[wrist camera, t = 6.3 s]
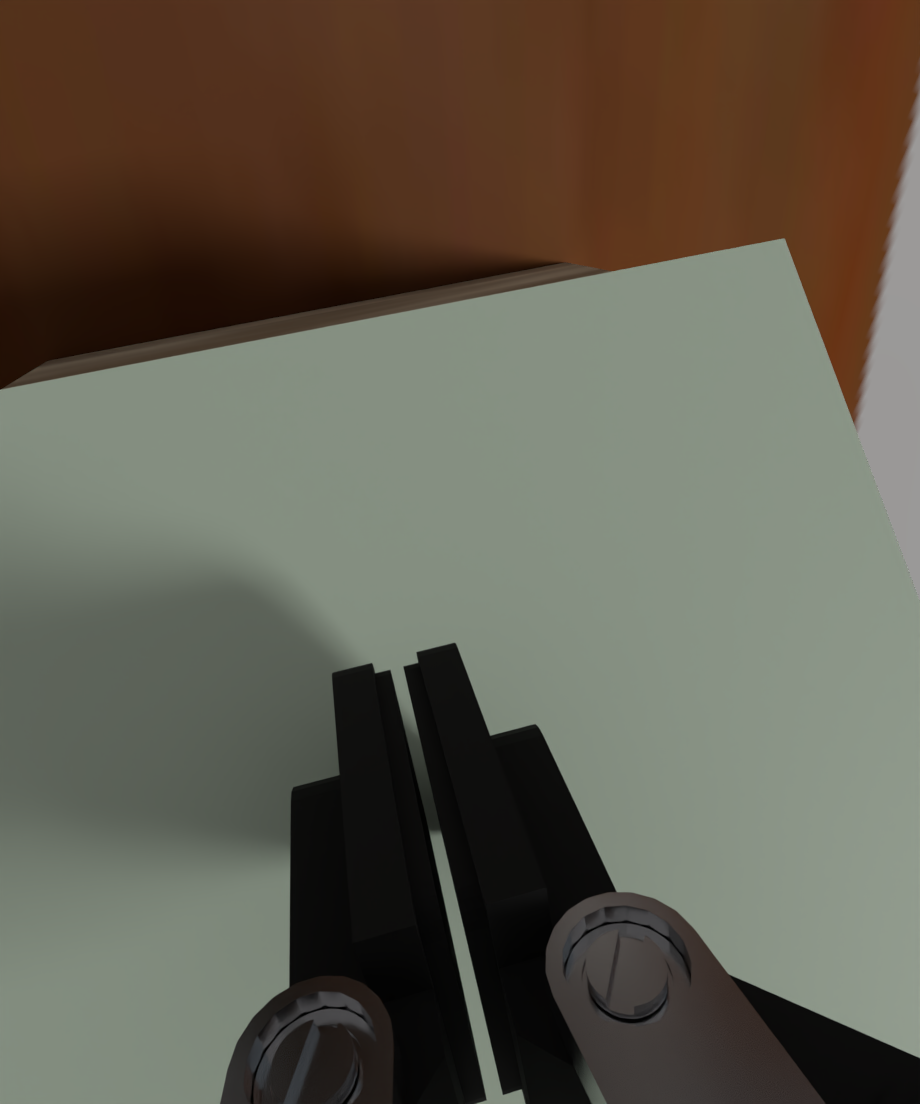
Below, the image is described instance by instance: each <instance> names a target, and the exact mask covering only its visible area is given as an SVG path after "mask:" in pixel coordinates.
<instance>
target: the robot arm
mask: <svg viewBox="0 0 920 1104" xmlns="http://www.w3.org/2000/svg"><path fill="white" fill-rule="evenodd" d="M416 654H417V659H418V663H415V664H411V665H407V666H403V668H404V672H405V677H406V681H407V685H408V690H409V694H410V698H411V703H412V707H413V711H414V716H415V720H416V724H417V729H418V733H419V738H420V742H421V746H422V751H423V755H424V759H425V764H426V768H427V772H428V777H429V781H430V785H431V790H432V794H433V798H434V803H435V807H436V811H437V816H438V820H439V824H440V829H441V833H442V837H443V842H444V846H445V850H446V854H447V859H448V863H449V867H450V872H451V876H452V880H453V884H454V889H455V893H456V897H457V901H458V906H459V910H460V914H461V919H462V923H463V927H464V931H465V936H466V940H467V944H468V948H469V953H470V957H471V961H472V966H473V970H474V974H475V978H476V983H477V987H478V991H479V995H480V1000H481V1004H482V1008H483V1013H484V1017H485V1021H486V1025H487V1030H488V1034H489V1038H490V1043H491V1047H492V1051H493V1055H494V1060H495V1064H496V1068H497V1072H498V1077H499V1081H500V1085H501V1089H502V1094H503V1095H505V1094H508V1093H511V1092H515V1091H518V1090H521V1089H522V1092H523V1096H524V1100H525V1104H920V1058H919V1057H916V1056H914V1055H912V1054H910V1053H907V1052H905V1051H903V1050H900V1049H898V1048H896V1047H894V1046H891V1045H889V1044H887V1043H884V1042H882V1041H880V1040H878V1039H875V1038H873V1037H871V1036H868V1035H866V1034H864V1033H862V1032H859V1031H857V1030H855V1029H853V1028H850V1027H848V1026H846V1025H843V1024H841V1023H839V1022H837V1021H834V1020H832V1019H830V1018H827V1017H825V1016H823V1015H821V1014H818V1013H816V1012H814V1011H811V1010H809V1009H807V1008H805V1007H802V1006H800V1005H798V1004H795V1003H793V1002H791V1001H789V1000H786V999H784V998H782V997H780V996H777V995H775V994H773V993H770V992H768V991H766V990H764V989H761V988H759V987H757V986H754V985H752V984H750V983H748V982H745V981H743V980H741V979H738V978H736V977H734V976H732V975H729V974H728V973H727V972H726V970H725V969H724V968H723V966H722V965H721V964H720V962H719V961H718V960H717V958H716V957H715V956H714V954H713V953H712V952H711V950H710V949H709V948H708V946H707V945H706V944H705V942H704V941H703V940H702V938H701V937H700V936H699V934H698V933H697V932H696V930H695V929H694V928H693V927H692V926H691V925H690V924H689V923H688V922H687V921H686V920H685V919H684V918H683V917H682V916H681V915H680V914H679V913H678V912H677V911H676V910H674V909H672V908H671V907H669V906H667V905H665V904H664V903H662V902H660V901H658V900H657V899H655V898H651V897H647V896H644V895H640V894H636V893H632V892H617V891H616V889H615V887H614V885H613V883H612V881H611V878H610V876H609V874H608V872H607V870H606V868H605V866H604V864H603V861H602V859H601V857H600V855H599V853H598V851H597V849H596V847H595V844H594V842H593V840H592V838H591V836H590V834H589V832H588V830H587V827H586V825H585V823H584V821H583V819H582V817H581V815H580V812H579V810H578V808H577V806H576V804H575V802H574V800H573V798H572V795H571V793H570V791H569V789H568V787H567V785H566V783H565V781H564V778H563V776H562V774H561V772H560V770H559V768H558V766H557V764H556V761H555V759H554V757H553V755H552V753H551V751H550V749H549V747H548V744H547V742H546V740H545V738H544V736H543V734H542V732H541V730H540V728H539V727H538V726H537V725H536V724H533V725H529V726H525V727H521V728H518V729H514V730H510V731H506V732H502V733H498V734H495V735H491V736H490V734H489V731H488V728H487V725H486V723H485V720H484V717H483V715H482V712H481V709H480V707H479V704H478V701H477V698H476V696H475V693H474V690H473V688H472V685H471V682H470V679H469V677H468V674H467V671H466V669H465V666H464V663H463V660H462V658H461V655H460V652H459V650H458V647H457V645H456V643H451V644H447V645H443V646H439V647H435V648H431V649H426V650H422V651H418V652H416ZM332 686H333V698H334V711H335V724H336V737H337V750H338V763H339V775H338V776H334V777H330V778H326V779H322V780H319V781H315V782H311V783H307V784H303V785H299V786H296V787H293V789H292V792H291V823H290V954H289V988H288V989H286V990H284V991H283V992H281V993H279V994H278V995H276V996H274V997H273V998H272V999H271V1000H270V1001H269V1002H268V1003H267V1004H266V1005H265V1006H264V1007H263V1008H262V1009H261V1010H260V1011H259V1012H258V1013H257V1014H256V1015H255V1016H254V1017H253V1018H252V1019H251V1021H250V1023H249V1024H248V1026H247V1027H246V1029H245V1030H244V1032H243V1033H242V1035H241V1036H240V1038H239V1040H238V1041H237V1043H236V1046H235V1049H234V1052H233V1055H232V1058H231V1061H230V1063H229V1066H228V1069H227V1073H226V1078H225V1083H224V1087H223V1092H222V1097H221V1101H220V1104H477V1103H480V1102H483V1101H486V1100H487V1099H486V1093H485V1089H484V1084H483V1079H482V1075H481V1070H480V1065H479V1061H478V1056H477V1051H476V1047H475V1042H474V1037H473V1033H472V1028H471V1023H470V1019H469V1014H468V1009H467V1005H466V1000H465V995H464V991H463V986H462V981H461V977H460V972H459V968H458V963H457V958H456V954H455V949H454V944H453V940H452V935H451V930H450V926H449V921H448V916H447V912H446V907H445V902H444V898H443V893H442V888H441V884H440V879H439V874H438V870H437V865H436V860H435V856H434V851H433V846H432V842H431V837H430V833H429V828H428V824H427V820H426V815H425V811H424V807H423V803H422V799H421V795H420V790H419V786H418V782H417V778H416V774H415V770H414V765H413V761H412V757H411V753H410V749H409V745H408V740H407V736H406V732H405V728H404V724H403V720H402V715H401V711H400V707H399V703H398V699H397V695H396V690H395V686H394V682H393V678H392V674H391V670H387V671H382V672H378V673H375V670H374V667H373V664H372V663H369V664H365V665H361V666H357V667H353V668H349V669H345V670H341V671H337V672H333V673H332Z"/></svg>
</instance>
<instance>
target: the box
mask: <svg viewBox="0 0 920 1104" xmlns="http://www.w3.org/2000/svg"><path fill="white" fill-rule="evenodd" d="M608 272H612V271H607V270H602V269H597V268H592V267H587V266H581V265H576V264H571V263H566V262H565V263H560V264H555V265H550V266H544V267H539V268H534V269H529V270H523V271H518V272H513V273H508V274H502V275H497V276H492V277H487V278H481V279H476V280H471V281H465V282H460V283H455V284H450V285H444V286H439V287H434V288H429V289H423V290H418V291H413V292H408V293H402V294H397V295H392V296H387V297H381V298H376V299H371V300H366V301H360V302H355V303H350V304H344V305H339V306H334V307H329V308H323V309H318V310H313V311H308V312H302V313H297V314H292V315H287V316H281V317H276V318H271V319H266V320H260V321H255V322H250V323H245V324H239V325H234V326H229V327H223V328H218V329H213V330H208V331H202V332H197V333H192V334H187V335H181V336H176V337H171V338H166V339H160V340H155V341H150V342H145V343H139V344H134V345H129V346H123V347H118V348H113V349H108V350H102V351H97V352H92V353H87V354H81V355H76V356H71V357H66V358H60V359H55V360H50V361H47V362H45V363H43V364H42V365H40V366H38V367H37V368H35V369H34V370H32V371H30V372H29V373H27V374H25V375H24V376H22V377H20V378H19V379H17V380H16V381H14V382H12V383H11V384H9V385H7V386H6V387H4V388H2V389H7V388H12V387H17V386H22V385H27V384H33V383H38V382H43V381H48V380H53V379H58V378H64V377H69V376H74V375H79V374H84V373H90V372H95V371H100V370H105V369H110V368H115V367H121V366H126V365H131V364H136V363H141V362H147V361H152V360H157V359H162V358H167V357H173V356H178V355H183V354H188V353H193V352H198V351H204V350H209V349H214V348H219V347H224V346H230V345H235V344H240V343H245V342H250V341H255V340H261V339H266V338H271V337H276V336H281V335H287V334H292V333H297V332H302V331H307V330H312V329H318V328H323V327H328V326H333V325H338V324H344V323H349V322H354V321H359V320H364V319H369V318H375V317H380V316H385V315H390V314H395V313H401V312H406V311H411V310H416V309H421V308H426V307H432V306H437V305H442V304H447V303H452V302H458V301H463V300H468V299H473V298H478V297H483V296H489V295H494V294H499V293H504V292H509V291H515V290H520V289H525V288H530V287H535V286H540V285H546V284H551V283H556V282H561V281H566V280H572V279H577V278H582V277H587V276H592V275H597V274H603V273H608Z"/></svg>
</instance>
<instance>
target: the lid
mask: <svg viewBox="0 0 920 1104" xmlns="http://www.w3.org/2000/svg"><path fill="white" fill-rule="evenodd" d="M451 643H456V645H457V647H458V650H459V652H460V655H461V658H462V660H463V663H464V666H465V669H466V671H467V674H468V677H469V679H470V682H471V685H472V688H473V690H474V693H475V696H476V698H477V701H478V704H479V707H480V709H481V712H482V715H483V717H484V720H485V723H486V725H487V728H488V731H489V734H490V736H491V735H495V734H498V733H502V732H506V731H510V730H514V729H518V728H521V727H525V726H529V725H533V724H536V725H537V726H538V727H539V728H540V730H541V732H542V734H543V736H544V738H545V740H546V742H547V744H548V747H549V749H550V751H551V753H552V755H553V757H554V759H555V761H556V764H557V766H558V768H559V770H560V772H561V774H562V776H563V778H564V781H565V783H566V785H567V787H568V789H569V791H570V793H571V795H572V798H573V800H574V802H575V804H576V806H577V808H578V810H579V812H580V815H581V817H582V819H583V821H584V823H585V825H586V827H587V830H588V832H589V834H590V836H591V838H592V840H593V842H594V844H595V847H596V849H597V851H598V853H599V855H600V857H601V859H602V861H603V864H604V866H605V868H606V870H607V872H608V874H609V876H610V878H611V881H612V883H613V885H614V887H615V889H616V891H617V892H632V893H636V894H640V895H644V896H647V897H651V898H655V899H657V900H658V901H660V902H662V903H664V904H665V905H667V906H669V907H671V908H672V909H674V910H676V911H677V912H678V913H679V914H680V915H681V916H682V917H683V918H684V919H685V920H686V921H687V922H688V923H689V924H690V925H691V926H692V927H693V928H694V929H695V930H696V932H697V933H698V934H699V936H700V937H701V938H702V940H703V941H704V942H705V944H706V945H707V946H708V948H709V949H710V950H711V952H712V953H713V954H714V956H715V957H716V958H717V960H718V961H719V962H720V964H721V965H722V966H723V968H724V969H725V970H726V972H727V973H728V974H729V975H732V976H734V977H736V978H738V979H741V980H743V981H745V982H748V983H750V984H752V985H754V986H757V987H759V988H761V989H764V990H766V991H768V992H770V993H773V994H775V995H777V996H780V997H782V998H784V999H786V1000H789V1001H791V1002H793V1003H795V1004H798V1005H800V1006H802V1007H805V1008H807V1009H809V1010H811V1011H814V1012H816V1013H818V1014H821V1015H823V1016H825V1017H827V1018H830V1019H832V1020H834V1021H837V1022H839V1023H841V1024H843V1025H846V1026H848V1027H850V1028H853V1029H855V1030H857V1031H859V1032H862V1033H864V1034H866V1035H868V1036H871V1037H873V1038H875V1039H878V1040H880V1041H882V1042H884V1043H887V1044H889V1045H891V1046H894V1047H896V1048H898V1049H900V1050H903V1051H905V1052H907V1053H910V1054H912V1055H914V1056H916V1057H919V1058H920V600H919V598H918V596H917V592H916V590H915V587H914V584H913V582H912V579H911V577H910V574H909V571H908V568H907V566H906V563H905V560H904V558H903V555H902V552H901V549H900V547H899V544H898V541H897V539H896V536H895V533H894V531H893V528H892V525H891V523H890V520H889V517H888V515H887V512H886V509H885V507H884V504H883V501H882V499H881V496H880V493H879V491H878V488H877V485H876V483H875V480H874V477H873V475H872V472H871V469H870V466H869V464H868V461H867V459H866V456H865V453H864V450H863V448H862V445H861V442H860V440H859V437H858V434H857V432H856V429H855V426H854V424H853V421H852V418H851V416H850V413H849V410H848V408H847V405H846V402H845V400H844V397H843V394H842V392H841V389H840V386H839V383H838V381H837V378H836V375H835V373H834V370H833V367H832V365H831V362H830V359H829V357H828V354H827V351H826V349H825V346H824V343H823V341H822V338H821V335H820V333H819V330H818V327H817V325H816V322H815V319H814V317H813V314H812V311H811V309H810V306H809V303H808V300H807V298H806V295H805V292H804V290H803V287H802V284H801V282H800V279H799V276H798V274H797V271H796V268H795V266H794V263H793V260H792V258H791V255H790V252H789V250H788V247H787V244H786V242H785V239H779V240H774V241H769V242H763V243H758V244H753V245H748V246H743V247H737V248H732V249H727V250H722V251H717V252H712V253H706V254H701V255H696V256H691V257H686V258H680V259H675V260H670V261H665V262H660V263H655V264H649V265H644V266H639V267H634V268H629V269H623V270H618V271H613V272H608V273H603V274H597V275H592V276H587V277H582V278H577V279H572V280H566V281H561V282H556V283H551V284H546V285H540V286H535V287H530V288H525V289H520V290H515V291H509V292H504V293H499V294H494V295H489V296H483V297H478V298H473V299H468V300H463V301H458V302H452V303H447V304H442V305H437V306H432V307H426V308H421V309H416V310H411V311H406V312H401V313H395V314H390V315H385V316H380V317H375V318H369V319H364V320H359V321H354V322H349V323H344V324H338V325H333V326H328V327H323V328H318V329H312V330H307V331H302V332H297V333H292V334H287V335H281V336H276V337H271V338H266V339H261V340H255V341H250V342H245V343H240V344H235V345H230V346H224V347H219V348H214V349H209V350H204V351H198V352H193V353H188V354H183V355H178V356H173V357H167V358H162V359H157V360H152V361H147V362H141V363H136V364H131V365H126V366H121V367H115V368H110V369H105V370H100V371H95V372H90V373H84V374H79V375H74V376H69V377H64V378H58V379H53V380H48V381H43V382H38V383H33V384H27V385H22V386H17V387H12V388H7V389H1V390H0V1104H220V1101H221V1097H222V1092H223V1087H224V1083H225V1078H226V1073H227V1069H228V1066H229V1063H230V1061H231V1058H232V1055H233V1052H234V1049H235V1046H236V1043H237V1041H238V1040H239V1038H240V1036H241V1035H242V1033H243V1032H244V1030H245V1029H246V1027H247V1026H248V1024H249V1023H250V1021H251V1019H252V1018H253V1017H254V1016H255V1015H256V1014H257V1013H258V1012H259V1011H260V1010H261V1009H262V1008H263V1007H264V1006H265V1005H266V1004H267V1003H268V1002H269V1001H270V1000H271V999H272V998H273V997H274V996H276V995H278V994H279V993H281V992H283V991H284V990H286V989H288V988H289V954H290V823H291V792H292V789H293V787H296V786H299V785H303V784H307V783H311V782H315V781H319V780H322V779H326V778H330V777H334V776H338V775H339V763H338V750H337V737H336V724H335V711H334V698H333V686H332V673H333V672H337V671H341V670H345V669H349V668H353V667H357V666H361V665H365V664H369V663H372V664H373V667H374V670H375V673H378V672H382V671H387V670H391V674H392V678H393V682H394V686H395V690H396V695H397V699H398V703H399V707H400V711H401V715H402V720H403V724H404V728H405V732H406V736H407V740H408V745H409V749H410V753H411V757H412V761H413V765H414V770H415V774H416V778H417V782H418V786H419V790H420V795H421V799H422V803H423V807H424V811H425V815H426V820H427V824H428V828H429V833H430V837H431V842H432V846H433V851H434V856H435V860H436V865H437V870H438V874H439V879H440V884H441V888H442V893H443V898H444V902H445V907H446V912H447V916H448V921H449V926H450V930H451V935H452V940H453V944H454V949H455V954H456V958H457V963H458V968H459V972H460V977H461V981H462V986H463V991H464V995H465V1000H466V1005H467V1009H468V1014H469V1019H470V1023H471V1028H472V1033H473V1037H474V1042H475V1047H476V1051H477V1056H478V1061H479V1065H480V1070H481V1075H482V1079H483V1084H484V1089H485V1093H486V1099H487V1100H486V1101H483V1102H480V1103H477V1104H525V1100H524V1096H523V1092H522V1089H521V1090H518V1091H515V1092H511V1093H508V1094H505V1095H503V1094H502V1089H501V1085H500V1081H499V1077H498V1072H497V1068H496V1064H495V1060H494V1055H493V1051H492V1047H491V1043H490V1038H489V1034H488V1030H487V1025H486V1021H485V1017H484V1013H483V1008H482V1004H481V1000H480V995H479V991H478V987H477V983H476V978H475V974H474V970H473V966H472V961H471V957H470V953H469V948H468V944H467V940H466V936H465V931H464V927H463V923H462V919H461V914H460V910H459V906H458V901H457V897H456V893H455V889H454V884H453V880H452V876H451V872H450V867H449V863H448V859H447V854H446V850H445V846H444V842H443V837H442V833H441V829H440V824H439V820H438V816H437V811H436V807H435V803H434V798H433V794H432V790H431V785H430V781H429V777H428V772H427V768H426V764H425V759H424V755H423V751H422V746H421V742H420V738H419V733H418V729H417V724H416V720H415V716H414V711H413V707H412V703H411V698H410V694H409V690H408V685H407V681H406V677H405V672H404V668H403V666H407V665H411V664H415V663H418V659H417V654H416V652H418V651H422V650H426V649H431V648H435V647H439V646H443V645H447V644H451Z"/></svg>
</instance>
